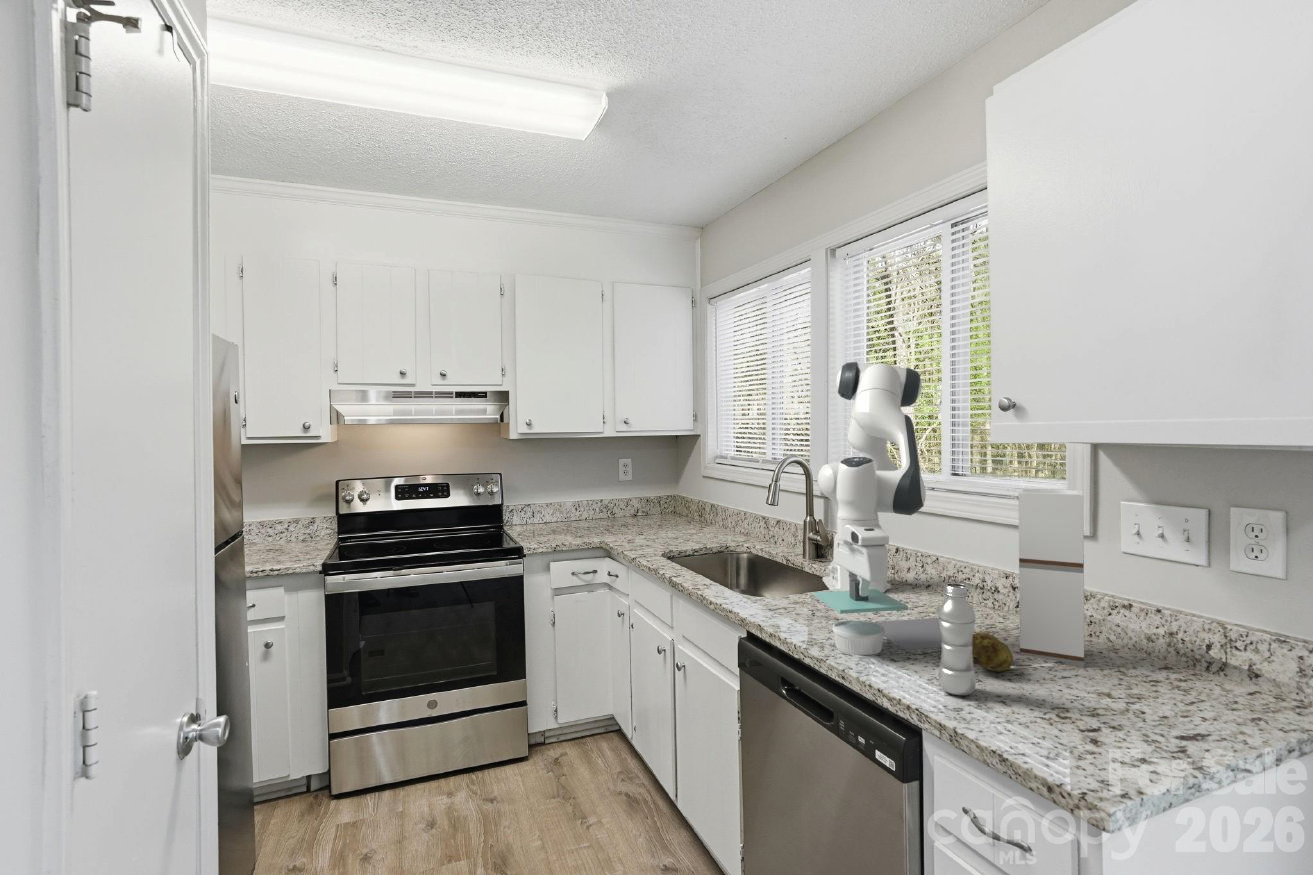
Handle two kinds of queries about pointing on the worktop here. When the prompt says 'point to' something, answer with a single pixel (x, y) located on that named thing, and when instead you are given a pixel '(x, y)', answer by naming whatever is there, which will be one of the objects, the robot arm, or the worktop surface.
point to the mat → (913, 633)
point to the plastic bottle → (956, 641)
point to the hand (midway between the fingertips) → (858, 593)
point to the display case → (1051, 575)
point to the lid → (859, 600)
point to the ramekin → (858, 637)
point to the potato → (991, 652)
